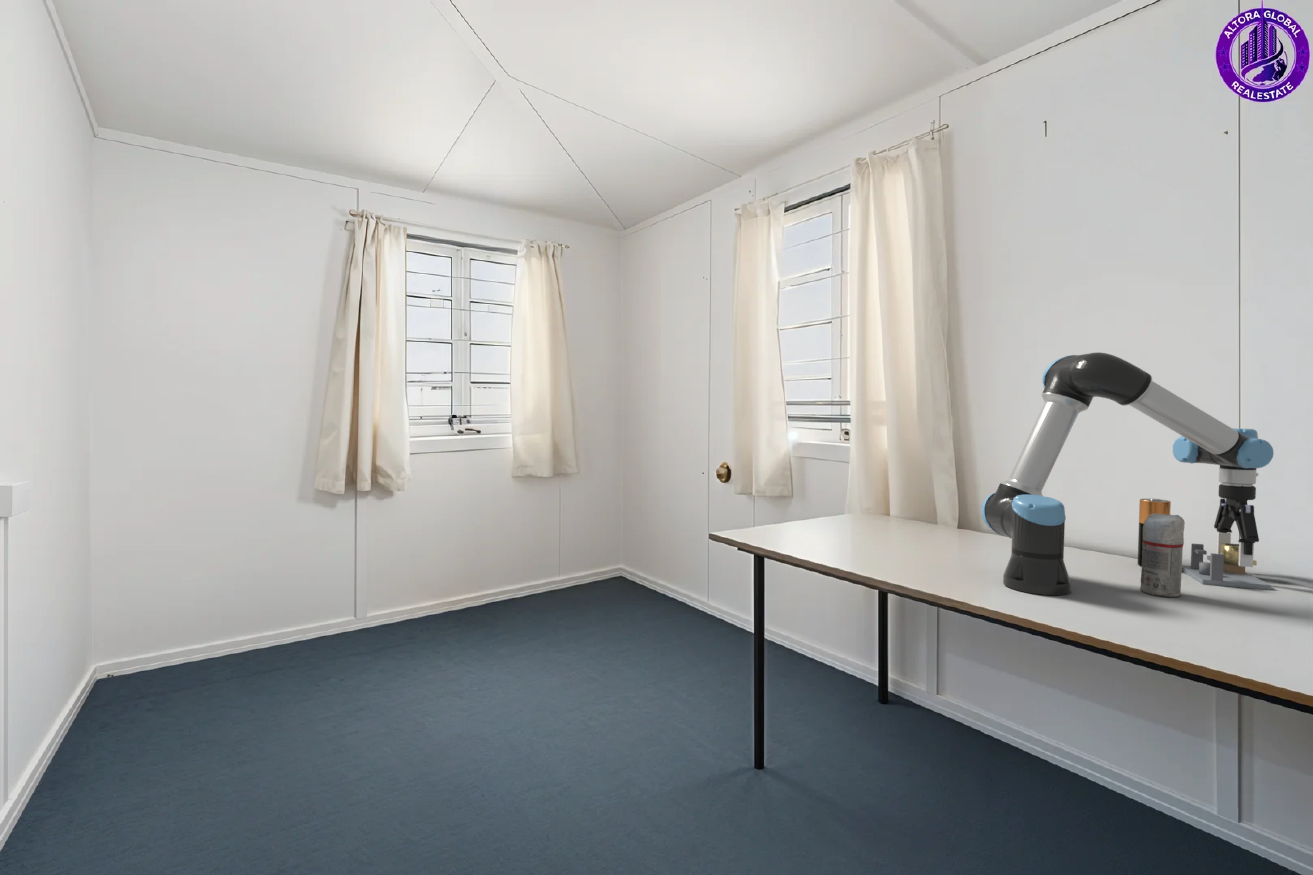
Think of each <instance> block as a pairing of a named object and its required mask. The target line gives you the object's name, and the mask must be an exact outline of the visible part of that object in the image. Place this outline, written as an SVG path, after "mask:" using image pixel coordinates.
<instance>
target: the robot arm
mask: <svg viewBox="0 0 1313 875" xmlns="http://www.w3.org/2000/svg"><path fill="white" fill-rule="evenodd" d="M1042 374H1043V375H1042V378H1041V379H1042V380H1041V381H1042V382H1041V383H1042V384H1043V388H1044V389H1043V391H1042V393H1041V398H1042V399H1043V401H1044V403H1043V406H1042V408H1041V409H1040V412H1039V414H1038V416H1037V418H1036V421H1035V422H1034V425H1033V426H1032V429H1031V431H1030V433H1029V435H1028V437H1027V440H1026V441H1025V444H1024V446H1023V447H1022V450H1021V452H1020V454H1019V457H1018V458H1017V461H1016V463H1015V465H1014V467H1013V469H1012V471H1011V473H1010V475H1009V478H1008V479H1007V480H1004V481H1001V482H999V485H998V487H997V489H996V491H995V492H993V493H992V494H989V495H988V496H986V498H985V499H984V501H983V502H982V505H981V508H980V510H981V511H980V512H981V518H982V520H983V522H984V524H985V525H986V526H987V527H988V528H989V529H990V530H992V531H993V532H994V533H996V534H998V535H1001V536H1004V537H1008V538H1009V539H1011V551H1010V552H1011V555H1010V557H1009V560H1008V563H1007V564H1006V568H1005V571H1004V572H1003V576H1002V577H1003V578H1002V584H1003V585H1004V586H1005V587H1007V588H1009V589H1013V590H1015V591H1020V592H1024V593H1028V594H1035V595H1044V596H1062V595H1068V594H1070V593H1071V592H1072V582H1071V578H1070V577H1069V576H1070V575H1069V572H1068V571H1067V566H1066V564H1065V562H1064V561H1065V560H1064V554H1065V550H1064V549H1065V529H1066V528H1065V526H1066V525H1065V523H1066V518H1067V517H1066V511H1065V505H1064V503H1063V502H1061V501H1060V500H1058V499H1056V498H1053V497H1050V496H1044V495H1043V492H1042V491H1043V489H1044V487H1045V485H1046V483H1047V480H1048V478H1049V476H1050V474H1051V473H1052V470H1053V468H1054V466H1055V463H1056V462H1057V459H1058V458H1059V456H1060V453H1061V451H1062V449H1063V447H1064V444H1065V443H1066V441H1067V438H1068V436H1069V434H1070V432H1071V431H1072V430H1071V429H1072V428H1073V426H1074V423H1075V422H1076V420H1077V418H1078V415H1079V414H1080V413H1082V412H1084V411H1087V410H1088V409H1089V407H1090V406H1091V403H1092V401H1093V399H1094V398H1095V397H1097V398H1103V399H1106V400H1111V401H1113V402H1115V403H1117V404H1119V405H1120V406H1124V407H1125V406H1130V407H1132V408H1133V409H1136V410H1137V411H1139V412H1141V413H1143V415H1145V416H1148V417H1149V418H1151V419H1153V421H1154V420H1155V421H1156V422H1158V423H1160V424H1161V425H1163V426H1164V427H1166V428H1168V429H1170V430H1171V431H1173V432H1174V433H1177V434H1178V435H1180V436H1179V437H1177V438H1175V440H1174V442H1173V444H1172V454H1173V457H1174V458H1175V460H1176V461H1178V462H1179V463H1185V464H1208V465H1216V466H1219V467H1218V468H1219V469H1218V482H1219V483H1220V484H1218V497H1219V498H1220V499H1219V508H1218V510H1217V514H1216V518H1215V521H1214V524H1213V527H1214V529H1215V530H1216V532H1217V541H1216V542H1217V544H1216V554H1221V544H1223V543H1230V544H1232V543H1231V540H1232V539H1231V538H1232V537H1231V536H1232V534H1231V533H1233V530H1232V527H1233V525H1234V522H1235V524H1236V527H1237V530H1238V534H1239V537H1240V538H1239V539H1238V540H1237V542H1238V544H1239V565H1238V566H1243V567H1245V568H1246V567H1247V568H1254V565H1253V560H1254V549H1255V548H1254V547H1255V546H1254V545H1255V543H1258V542H1260V538H1259V534H1258V528H1257V522H1256V518H1255V505H1253V504H1248V501H1254V500H1255V499H1256V496H1257V487H1256V486H1255V485H1256V483H1257V477H1258V476H1259V473H1258V472H1257V470H1258V469H1261V468H1264V467H1266V466H1267V465H1269V464H1270V463H1271V462H1272V460H1273V458H1274V453H1275V452H1274V449H1273V448H1274V447H1273V446H1272V445H1271V443H1270V442H1269V441H1267V440H1265V439H1262V438H1259V435H1258V431H1257V430H1256V429H1254V428H1233V427H1231V426H1229V425H1227V424H1226V423H1224V422H1223V421H1221V420H1219V419H1217V418H1215V417H1214V416H1212V415H1210V414H1209V413H1207V412H1206V411H1204V410H1202V409H1200V408H1198V407H1197V406H1195V405H1193V404H1192V403H1190V402H1189V401H1187V400H1186V399H1183V398H1181V397H1180V396H1178V395H1177V394H1175V393H1173V392H1172V391H1170V390H1168V389H1167V388H1165V387H1163V386H1161V385H1160V384H1158V383H1156V382H1155V381H1153V376H1152V375H1151V374H1150V373H1149V372H1146V371H1145V370H1143V369H1141V368H1140V367H1138V366H1136V365H1135V364H1132V363H1131V362H1129V361H1127V360H1125V359H1122V358H1121V357H1118V356H1115V355H1113V354H1109V353H1105V352H1089V353H1083V354H1078V355H1077V354H1075V355H1074V354H1071V355H1066V356H1063V357H1060V358H1057V359H1055V360H1054V361H1052V362H1050V363H1049V365H1047V367H1046V368H1045V370H1044V371H1043V373H1042Z"/></svg>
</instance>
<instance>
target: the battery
mask: <svg viewBox="0 0 1313 875" xmlns="http://www.w3.org/2000/svg"><path fill="white" fill-rule="evenodd" d="M1138 505H1139V506H1138V508H1139V510H1138V511H1139V512H1138V535H1137V536H1138V537H1137V540H1138V541H1137V565H1139V566H1141V567H1142V550H1143V547H1142V542H1143V525H1144V521H1145V520H1146V519H1147V518H1148V516H1149V515H1151V514H1154V513H1157V514H1165V515H1171V507H1172V506H1171V505H1172V501H1171V500H1167V499H1162V498H1140V499H1139V504H1138Z"/></svg>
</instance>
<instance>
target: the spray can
mask: <svg viewBox="0 0 1313 875" xmlns="http://www.w3.org/2000/svg"><path fill="white" fill-rule="evenodd" d="M1184 531H1185V520H1184V518H1183V517H1182V516H1180V515H1178V514H1170V515H1165V514H1157V513H1154V514H1151V515H1149V516H1148V518H1147V519H1146V520H1145V521H1144V525H1143V542H1142V547H1143V550H1142V566H1141V572H1140V573H1141V574H1140V587H1139V590H1140V591H1141V592H1143V593H1145V594H1150V595H1153V596H1159V597H1164V598H1165V597H1166V598H1177V597H1180V596H1182V592H1181V589H1182V572H1183V571H1182V565H1183V550H1184V549H1183V548H1184V544H1185V541H1184V540H1185V538H1184Z"/></svg>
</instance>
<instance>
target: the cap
mask: <svg viewBox="0 0 1313 875" xmlns="http://www.w3.org/2000/svg"><path fill="white" fill-rule="evenodd" d="M1221 554H1223V555H1224V564H1229V565H1236V566H1238V565H1239V543H1231V544H1230V543H1223V544H1221ZM1257 563H1258V561H1257V560H1255V559H1253V566H1255V567H1256V566H1257V565H1258V564H1257Z"/></svg>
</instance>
